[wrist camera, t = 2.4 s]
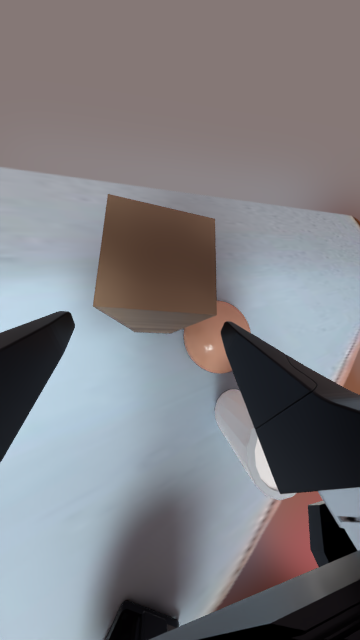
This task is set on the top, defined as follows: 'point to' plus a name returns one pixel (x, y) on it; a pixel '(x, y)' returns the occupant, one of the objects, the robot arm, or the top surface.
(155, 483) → the top surface
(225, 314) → the orange flat disc
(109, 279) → the walnut block
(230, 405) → the white short cylinder
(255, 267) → the top surface
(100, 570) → the top surface
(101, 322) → the top surface
